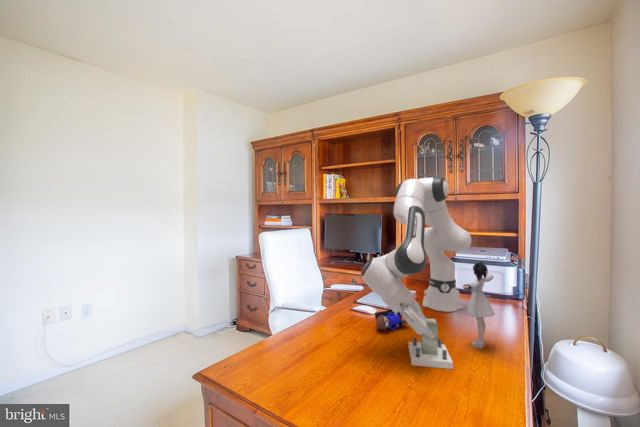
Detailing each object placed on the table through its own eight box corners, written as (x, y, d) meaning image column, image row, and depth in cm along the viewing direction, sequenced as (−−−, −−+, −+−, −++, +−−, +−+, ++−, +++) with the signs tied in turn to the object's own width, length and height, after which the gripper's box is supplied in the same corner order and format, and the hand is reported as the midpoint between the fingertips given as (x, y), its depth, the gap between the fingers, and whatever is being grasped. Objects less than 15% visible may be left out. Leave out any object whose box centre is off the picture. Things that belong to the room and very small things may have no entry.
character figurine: (410, 329, 121) (380, 336, 115) (399, 321, 128) (369, 328, 122) (411, 310, 121) (381, 317, 114) (399, 304, 127) (370, 309, 121)
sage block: (420, 347, 101) (420, 318, 100) (434, 348, 100) (435, 319, 99) (422, 353, 96) (422, 323, 96) (437, 355, 95) (437, 324, 95)
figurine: (479, 332, 116) (479, 256, 116) (504, 339, 110) (504, 259, 110) (454, 355, 99) (454, 265, 98) (481, 364, 93) (482, 269, 92)
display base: (408, 347, 105) (408, 334, 105) (444, 350, 103) (444, 337, 102) (411, 365, 93) (411, 351, 93) (452, 369, 91) (452, 354, 91)
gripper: (409, 303, 89) (444, 338, 87) (404, 285, 109) (432, 313, 107) (394, 317, 90) (428, 352, 88) (392, 296, 110) (419, 325, 108)
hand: (430, 330), depth 98 cm, fingers open, 8 cm apart
